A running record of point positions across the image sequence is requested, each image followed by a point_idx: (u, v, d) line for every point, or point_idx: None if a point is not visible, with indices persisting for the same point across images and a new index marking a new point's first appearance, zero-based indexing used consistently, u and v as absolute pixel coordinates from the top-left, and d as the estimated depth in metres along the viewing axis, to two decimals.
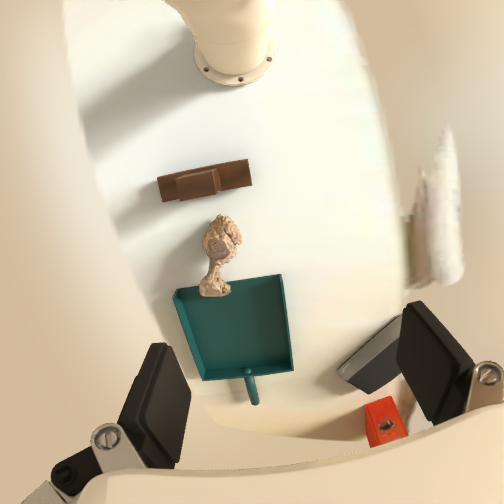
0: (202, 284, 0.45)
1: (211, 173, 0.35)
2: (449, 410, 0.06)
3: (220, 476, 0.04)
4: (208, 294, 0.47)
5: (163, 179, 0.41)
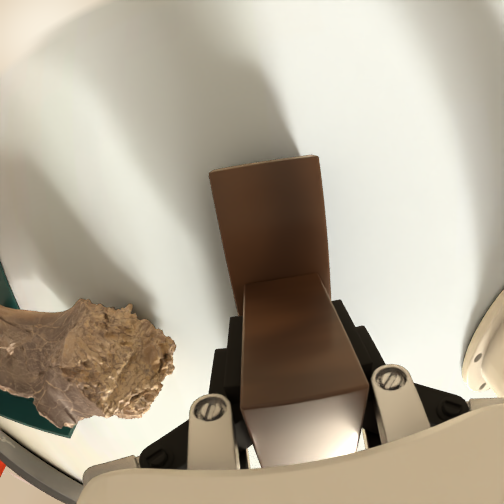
0: None
1: None
2: None
3: (220, 475, 0.04)
4: None
5: (308, 184, 0.10)
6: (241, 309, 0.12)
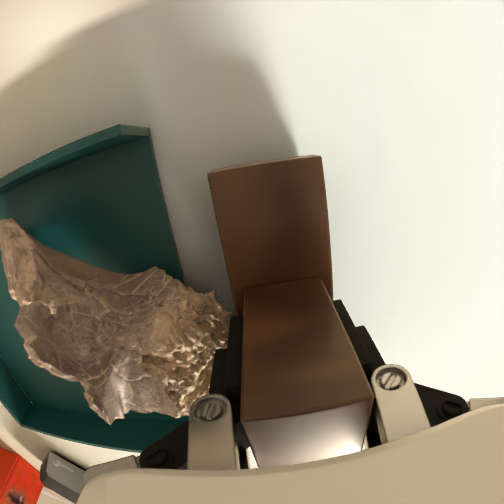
0: (20, 258, 0.08)
1: None
2: None
3: (220, 475, 0.04)
4: (1, 245, 0.09)
5: (310, 185, 0.10)
6: (241, 313, 0.12)
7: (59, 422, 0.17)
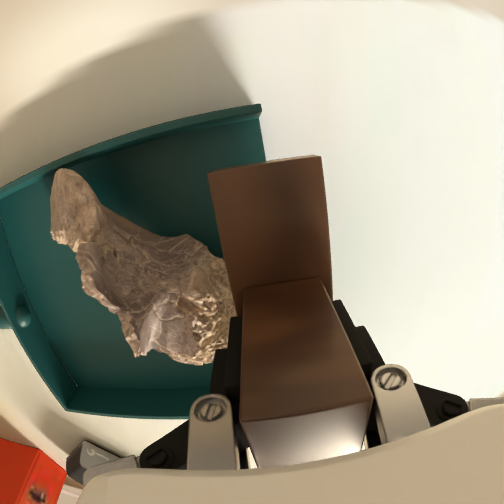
0: (82, 204, 0.11)
1: None
2: None
3: (220, 476, 0.04)
4: (54, 191, 0.12)
5: (310, 185, 0.10)
6: (241, 314, 0.12)
7: (113, 401, 0.20)
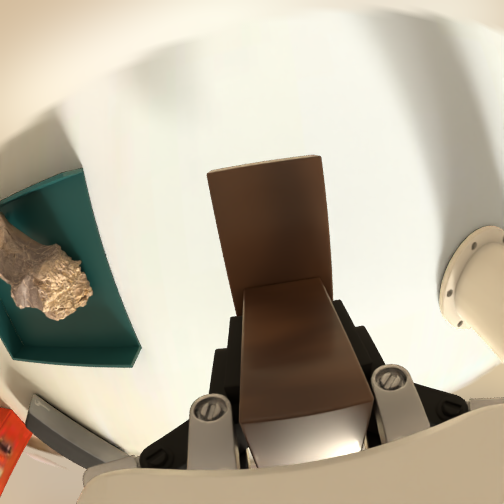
0: None
1: None
2: None
3: (220, 476, 0.04)
4: None
5: (310, 185, 0.10)
6: (241, 314, 0.12)
7: (38, 353, 0.27)
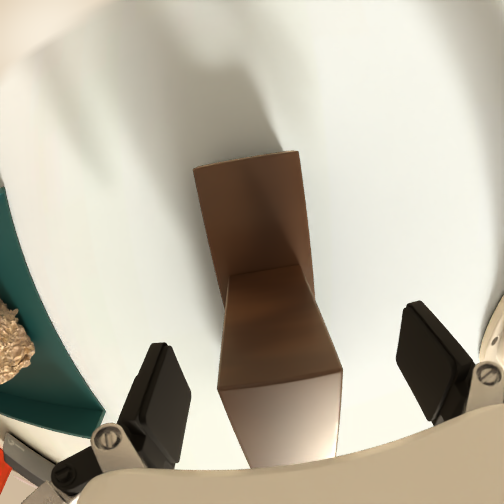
0: None
1: None
2: (449, 410, 0.06)
3: (220, 476, 0.04)
4: None
5: (288, 178, 0.11)
6: None
7: None
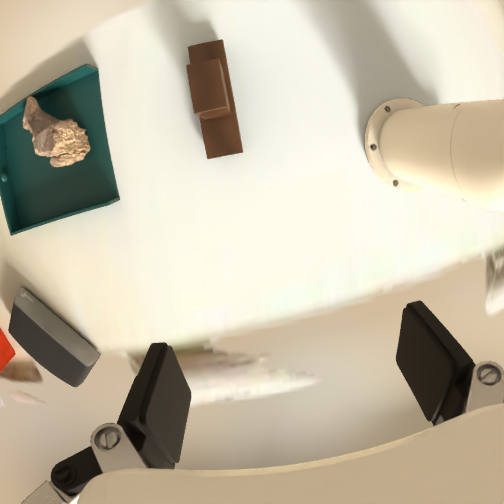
0: (32, 104, 0.25)
1: (224, 105, 0.23)
2: (449, 410, 0.06)
3: (220, 476, 0.04)
4: None
5: (219, 47, 0.26)
6: None
7: (35, 223, 0.33)
